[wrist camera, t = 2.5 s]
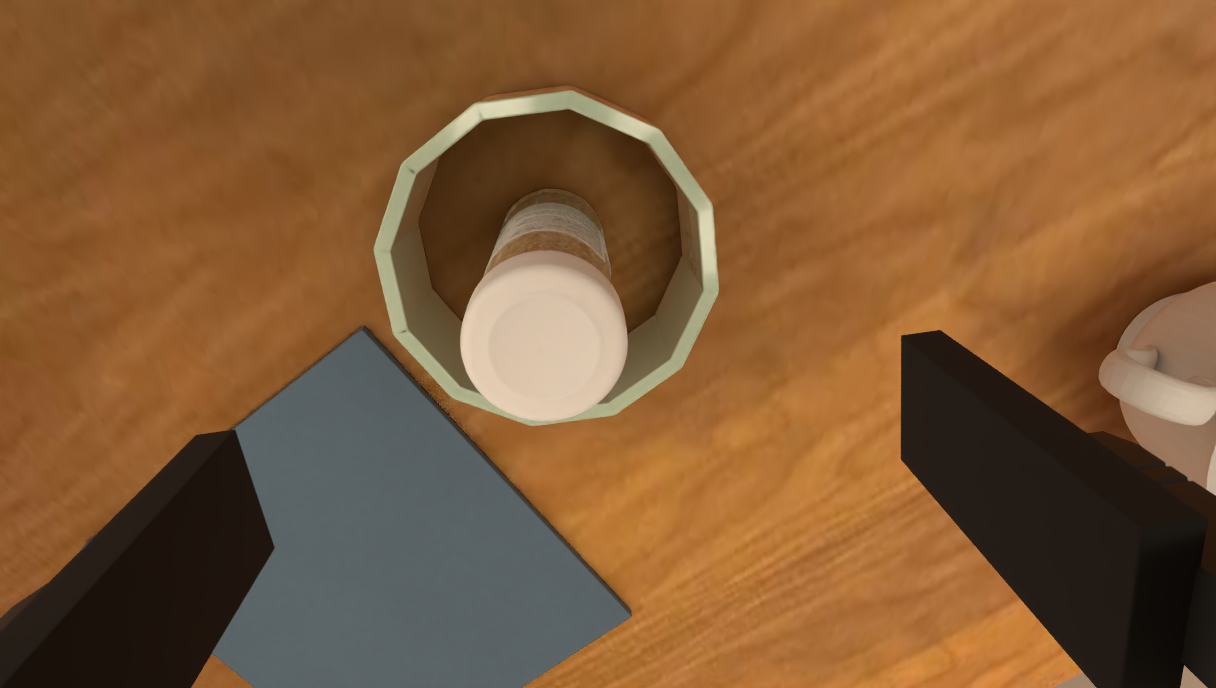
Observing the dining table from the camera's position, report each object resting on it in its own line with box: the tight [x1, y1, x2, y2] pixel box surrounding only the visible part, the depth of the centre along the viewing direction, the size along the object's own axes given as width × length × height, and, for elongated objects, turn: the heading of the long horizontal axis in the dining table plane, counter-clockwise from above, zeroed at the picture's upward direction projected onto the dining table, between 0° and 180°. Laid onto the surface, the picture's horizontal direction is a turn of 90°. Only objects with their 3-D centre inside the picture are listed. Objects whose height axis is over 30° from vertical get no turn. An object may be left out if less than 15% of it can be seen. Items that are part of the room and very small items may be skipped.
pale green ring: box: [374, 85, 719, 426], centre depth 30 cm, size 12×12×6 cm
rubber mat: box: [82, 327, 632, 688], centre depth 38 cm, size 20×18×1 cm
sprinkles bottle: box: [460, 189, 628, 421], centre depth 27 cm, size 5×5×14 cm
